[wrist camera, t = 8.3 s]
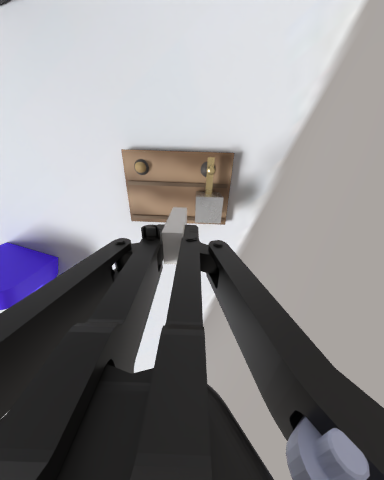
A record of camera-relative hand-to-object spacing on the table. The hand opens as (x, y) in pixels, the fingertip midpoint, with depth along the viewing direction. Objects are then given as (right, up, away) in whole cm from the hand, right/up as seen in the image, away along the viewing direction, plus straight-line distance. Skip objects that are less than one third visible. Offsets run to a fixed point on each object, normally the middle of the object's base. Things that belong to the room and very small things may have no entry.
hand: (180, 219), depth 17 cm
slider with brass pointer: (+4, +7, +10) cm, 12 cm away
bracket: (-38, -12, +22) cm, 46 cm away
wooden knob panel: (-1, +7, +12) cm, 14 cm away
